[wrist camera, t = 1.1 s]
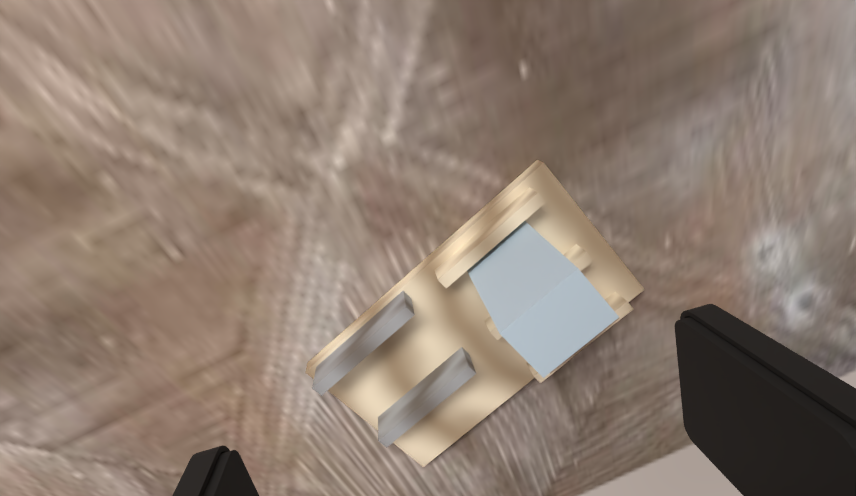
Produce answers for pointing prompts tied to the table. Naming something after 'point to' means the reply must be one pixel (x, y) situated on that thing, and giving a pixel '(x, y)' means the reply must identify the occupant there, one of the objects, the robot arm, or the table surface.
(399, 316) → the rack
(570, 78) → the table surface
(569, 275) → the light blue block
